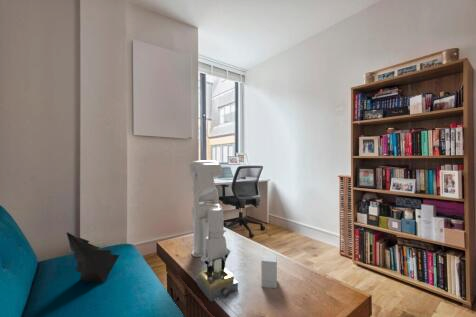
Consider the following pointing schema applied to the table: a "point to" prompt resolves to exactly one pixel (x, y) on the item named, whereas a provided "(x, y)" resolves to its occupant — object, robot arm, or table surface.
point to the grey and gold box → (217, 284)
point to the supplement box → (269, 271)
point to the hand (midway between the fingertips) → (216, 270)
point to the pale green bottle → (216, 269)
